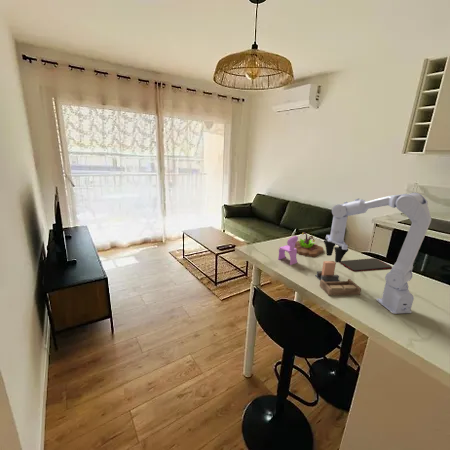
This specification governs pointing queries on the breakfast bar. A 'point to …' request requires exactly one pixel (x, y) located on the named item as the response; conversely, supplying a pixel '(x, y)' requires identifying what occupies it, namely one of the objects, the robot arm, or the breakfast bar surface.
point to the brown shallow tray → (340, 292)
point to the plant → (308, 247)
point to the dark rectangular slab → (365, 265)
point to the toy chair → (289, 250)
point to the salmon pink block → (328, 268)
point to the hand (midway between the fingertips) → (333, 258)
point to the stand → (327, 277)
